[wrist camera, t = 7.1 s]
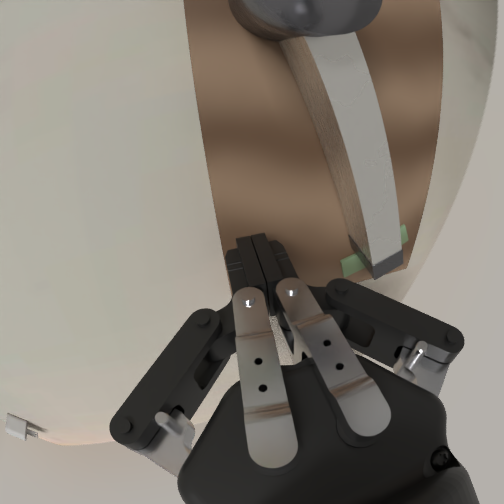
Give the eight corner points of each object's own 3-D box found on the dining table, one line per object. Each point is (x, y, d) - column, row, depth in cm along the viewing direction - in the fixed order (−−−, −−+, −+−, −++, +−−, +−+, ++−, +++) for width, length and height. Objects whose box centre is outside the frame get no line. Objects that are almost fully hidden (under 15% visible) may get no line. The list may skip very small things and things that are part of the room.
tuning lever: (210, -23, 7) (221, -62, 4) (302, -46, 7) (349, -78, 3) (335, 255, 18) (367, 304, 14) (391, 226, 17) (429, 268, 14)
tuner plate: (178, -50, 6) (177, -63, 5) (420, -21, 8) (438, -23, 7) (231, 295, 20) (235, 313, 19) (397, 256, 22) (407, 269, 20)
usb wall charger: (7, 412, 30) (5, 429, 27) (38, 424, 33) (36, 442, 30) (9, 417, 31) (7, 433, 28) (38, 428, 35) (37, 445, 32)
